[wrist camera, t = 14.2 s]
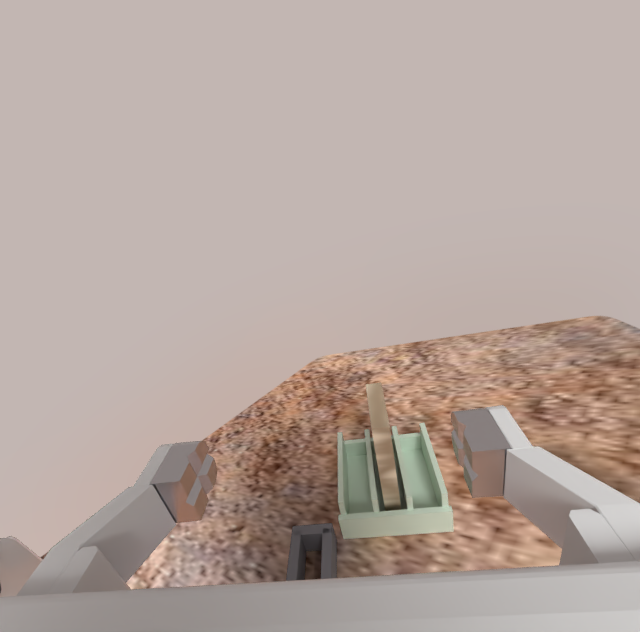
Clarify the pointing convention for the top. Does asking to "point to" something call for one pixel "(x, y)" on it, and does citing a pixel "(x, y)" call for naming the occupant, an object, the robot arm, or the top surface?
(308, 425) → the top surface
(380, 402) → the maple board
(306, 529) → the board stand
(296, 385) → the top surface
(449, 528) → the dish rack
